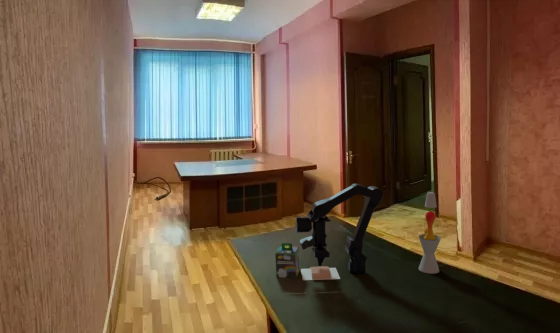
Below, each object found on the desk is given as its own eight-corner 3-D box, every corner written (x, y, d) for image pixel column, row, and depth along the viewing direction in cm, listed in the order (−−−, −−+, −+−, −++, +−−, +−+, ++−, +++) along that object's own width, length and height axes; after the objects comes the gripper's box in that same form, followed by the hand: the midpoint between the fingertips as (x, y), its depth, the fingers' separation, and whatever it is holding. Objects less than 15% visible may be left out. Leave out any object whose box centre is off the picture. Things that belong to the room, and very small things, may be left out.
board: (335, 268, 173) (335, 267, 173) (340, 279, 161) (340, 278, 161) (300, 269, 172) (300, 268, 172) (302, 281, 160) (302, 280, 160)
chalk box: (299, 270, 171) (299, 239, 169) (296, 279, 162) (295, 246, 160) (279, 269, 173) (279, 238, 171) (275, 278, 164) (274, 245, 162)
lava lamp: (443, 273, 164) (446, 194, 160) (422, 274, 164) (424, 195, 160) (434, 265, 173) (437, 190, 169) (415, 265, 173) (416, 190, 169)
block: (328, 266, 168) (330, 272, 161) (328, 271, 168) (330, 278, 161) (310, 266, 168) (311, 273, 161) (310, 272, 168) (312, 279, 161)
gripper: (299, 225, 173) (299, 258, 175) (302, 238, 155) (303, 275, 157) (323, 225, 173) (323, 257, 176) (329, 238, 155) (329, 274, 157)
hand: (319, 265), depth 166 cm, fingers closed
